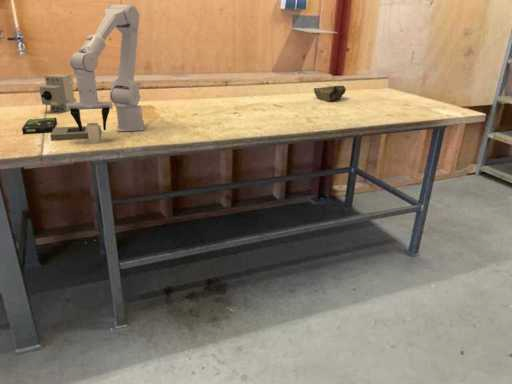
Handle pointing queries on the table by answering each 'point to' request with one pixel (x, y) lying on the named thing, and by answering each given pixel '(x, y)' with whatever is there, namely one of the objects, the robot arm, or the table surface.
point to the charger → (93, 132)
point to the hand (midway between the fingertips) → (93, 130)
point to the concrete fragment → (330, 93)
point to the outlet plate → (70, 133)
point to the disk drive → (39, 126)
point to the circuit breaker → (57, 92)
